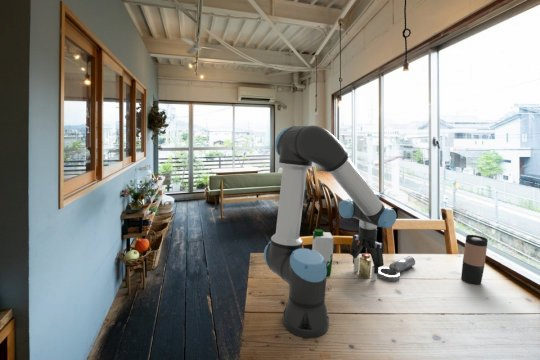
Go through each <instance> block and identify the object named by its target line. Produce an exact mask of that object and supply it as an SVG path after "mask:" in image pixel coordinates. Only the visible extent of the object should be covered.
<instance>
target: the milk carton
mask: <svg viewBox="0 0 540 360" xmlns="http://www.w3.org/2000/svg"><path fill="white" fill-rule="evenodd" d="M312 233H313V234H312V245H311V246H312V248H311V250H314V251H316V252H318V253H320V254H321V255H322V256H323V257H324V258H325V260H326V269H327V275H326V277H331V274H332V267H333V256H334V255H333V254H334V237H333V235H332V233H331V232H330V231H329V232H327V231H326V232H325V231H324V230H323V229H321V228H314V231H313V232H312Z"/></svg>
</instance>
